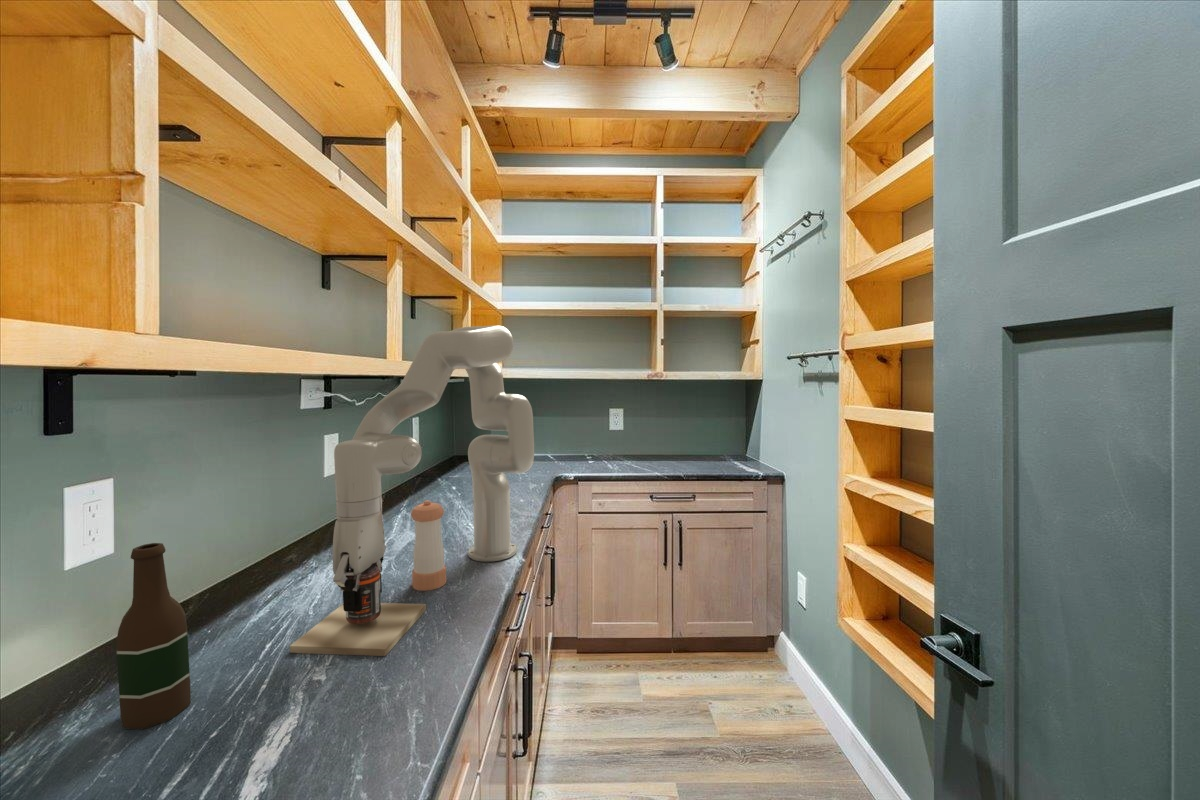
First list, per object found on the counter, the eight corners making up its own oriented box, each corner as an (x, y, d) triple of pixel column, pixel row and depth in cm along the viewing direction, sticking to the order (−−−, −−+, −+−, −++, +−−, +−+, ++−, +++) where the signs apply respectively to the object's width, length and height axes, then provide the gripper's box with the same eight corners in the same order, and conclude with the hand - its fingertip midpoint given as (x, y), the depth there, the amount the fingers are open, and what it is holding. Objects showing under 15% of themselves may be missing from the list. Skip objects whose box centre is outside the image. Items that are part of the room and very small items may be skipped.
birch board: (345, 607, 99) (345, 601, 99) (426, 609, 97) (425, 604, 97) (289, 652, 83) (289, 645, 83) (385, 656, 82) (385, 649, 81)
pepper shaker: (446, 588, 107) (444, 503, 106) (411, 592, 105) (408, 506, 104) (446, 575, 114) (444, 495, 113) (413, 579, 112) (411, 498, 111)
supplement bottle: (342, 628, 87) (339, 566, 86) (350, 612, 92) (347, 554, 92) (378, 623, 88) (376, 562, 87) (383, 607, 94) (381, 550, 93)
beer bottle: (178, 723, 66) (168, 552, 65) (105, 738, 63) (93, 559, 62) (203, 688, 73) (194, 534, 72) (138, 700, 71) (128, 540, 69)
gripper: (366, 494, 98) (369, 581, 99) (308, 521, 81) (313, 625, 82) (401, 495, 97) (404, 582, 98) (351, 521, 80) (356, 626, 81)
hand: (363, 601), depth 90 cm, fingers closed on supplement bottle, 6 cm apart
